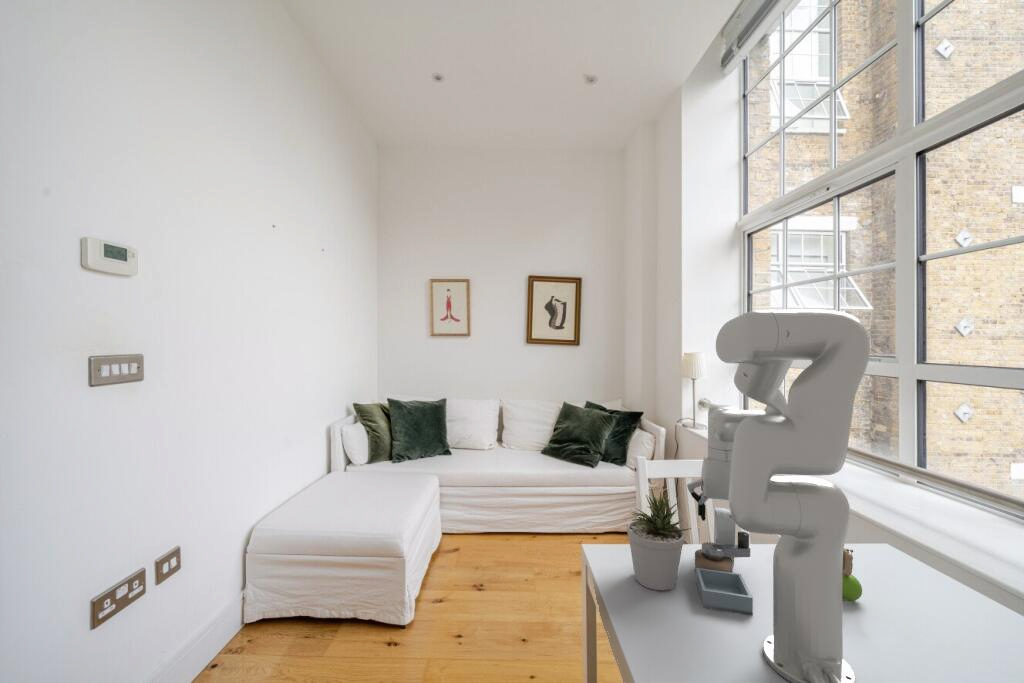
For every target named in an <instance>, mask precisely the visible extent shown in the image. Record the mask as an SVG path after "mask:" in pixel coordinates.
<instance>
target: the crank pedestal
mask: <svg viewBox="0 0 1024 683" xmlns="http://www.w3.org/2000/svg"><path fill="white" fill-rule="evenodd" d="M696 568H702V569H709V570H716V571H723V572H730V573H733V566H732V559H731V558H725V560H723V561H713V560H710V559H707V558H705V557H704V556H703V555H702V548H700V549H697V550H696V551H695V552H694V573H696Z"/></svg>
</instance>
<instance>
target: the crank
mask: <svg viewBox="0 0 1024 683" xmlns="http://www.w3.org/2000/svg"><path fill="white" fill-rule="evenodd" d="M701 549H702V555H703V556H704V557H705V558H707V559H710V560H713V561H723V560H725V558H734V559H735V558H750V557H751V548H750V533H748V532H747V531H746V532H745V531H738V532H737V544H736V543H735V544H730V545H719V544H716V543H714V542H712V541H711V542H710V541H709V542H703V543H702V544H701Z"/></svg>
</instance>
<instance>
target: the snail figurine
mask: <svg viewBox="0 0 1024 683" xmlns="http://www.w3.org/2000/svg"><path fill="white" fill-rule="evenodd" d="M853 552H854V550H853V549H849V548H844V550H843V567H842V600H844V601H849V602H853V601H857V600H859V599H860V598H861V597H862V595H863V587H862V585H861V582H860V581H859V579H858V578H856V576H855V575H854V574H853V575H852V573H853V568H854V567H853V566H854V564H853V560H854V556H853Z"/></svg>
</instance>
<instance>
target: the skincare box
mask: <svg viewBox="0 0 1024 683" xmlns="http://www.w3.org/2000/svg"><path fill="white" fill-rule="evenodd" d="M713 520H714V525H713V526H714V528H713V543H716V544H719V545H730V544H736V523H735V522H734V520H733V518H732V516H731V513H730V508H723V507H714V519H713ZM731 559H732V567H734V566H735V557H734V558H731Z"/></svg>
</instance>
